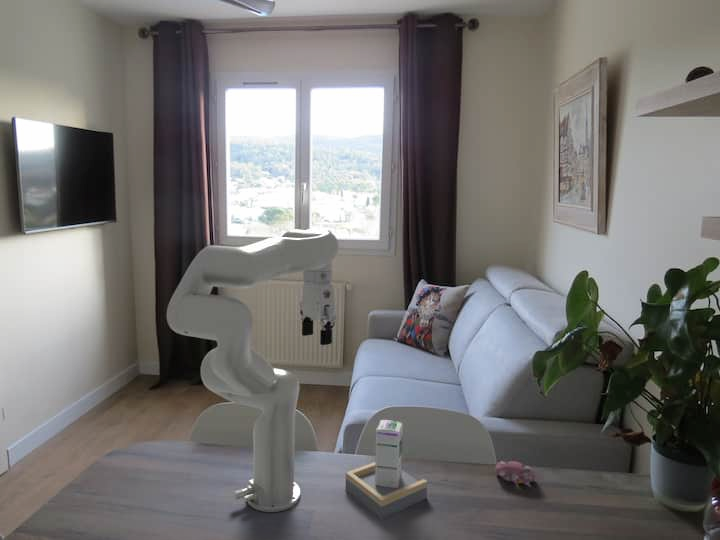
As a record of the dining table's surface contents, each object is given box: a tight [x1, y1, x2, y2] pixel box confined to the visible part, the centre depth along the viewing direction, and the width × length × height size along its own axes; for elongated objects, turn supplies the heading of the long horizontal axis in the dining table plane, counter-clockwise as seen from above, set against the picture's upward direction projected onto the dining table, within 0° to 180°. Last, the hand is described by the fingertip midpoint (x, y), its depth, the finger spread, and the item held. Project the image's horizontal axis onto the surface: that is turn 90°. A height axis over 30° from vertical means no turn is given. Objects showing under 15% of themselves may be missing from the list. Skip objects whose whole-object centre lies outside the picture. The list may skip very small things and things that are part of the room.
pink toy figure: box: [494, 460, 536, 485], centre depth 133 cm, size 10×5×7 cm, turn 71°
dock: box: [345, 461, 428, 519], centre depth 126 cm, size 14×14×4 cm
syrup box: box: [374, 419, 404, 488], centre depth 125 cm, size 6×6×14 cm
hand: (316, 339), depth 138 cm, fingers open, 9 cm apart
